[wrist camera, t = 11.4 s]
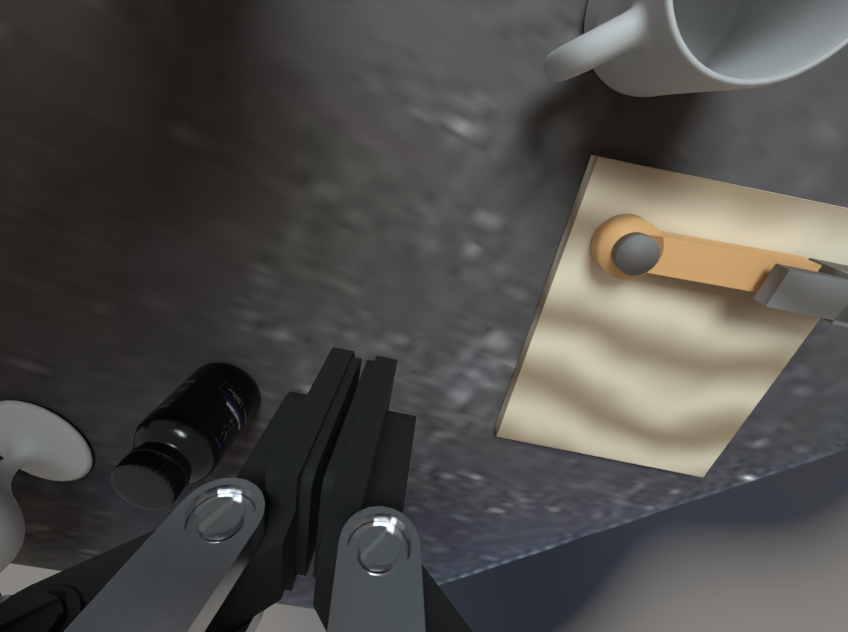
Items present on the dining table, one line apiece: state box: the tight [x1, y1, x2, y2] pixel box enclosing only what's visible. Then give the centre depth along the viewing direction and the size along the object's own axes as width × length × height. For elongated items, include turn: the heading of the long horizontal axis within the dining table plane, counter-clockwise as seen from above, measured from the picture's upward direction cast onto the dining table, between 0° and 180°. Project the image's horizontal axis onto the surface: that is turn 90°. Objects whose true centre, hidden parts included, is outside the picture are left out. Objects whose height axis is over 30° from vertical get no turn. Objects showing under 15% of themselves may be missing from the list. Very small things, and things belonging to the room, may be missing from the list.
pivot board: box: [495, 155, 848, 477], centre depth 31 cm, size 25×20×6 cm
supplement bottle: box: [110, 363, 259, 510], centre depth 34 cm, size 7×7×12 cm
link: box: [591, 214, 822, 292], centre depth 27 cm, size 14×4×2 cm, turn 81°
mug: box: [544, 0, 848, 97], centre depth 19 cm, size 12×8×11 cm
